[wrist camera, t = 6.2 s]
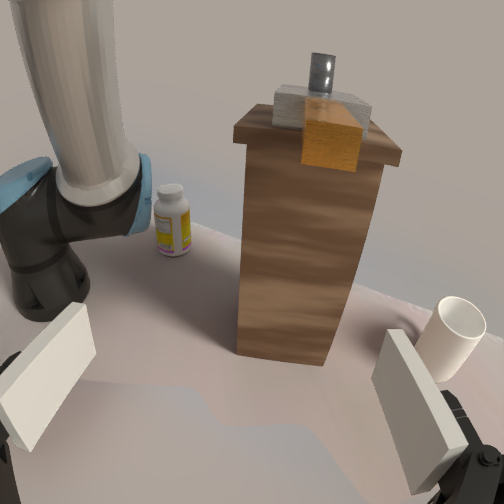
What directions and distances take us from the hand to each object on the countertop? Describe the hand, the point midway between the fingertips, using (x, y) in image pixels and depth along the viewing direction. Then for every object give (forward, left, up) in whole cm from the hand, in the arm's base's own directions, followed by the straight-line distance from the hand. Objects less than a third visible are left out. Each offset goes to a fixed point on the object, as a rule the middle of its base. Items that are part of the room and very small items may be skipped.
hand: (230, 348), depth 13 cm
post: (-9, +23, -25) cm, 35 cm away
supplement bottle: (-37, +26, -25) cm, 52 cm away
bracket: (-6, +18, +5) cm, 19 cm away
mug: (+13, +33, -25) cm, 43 cm away
